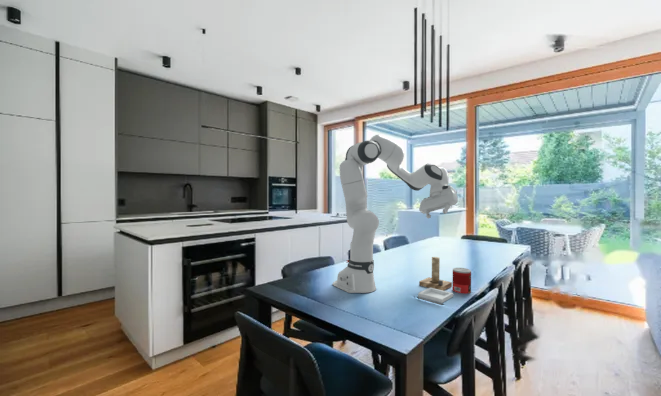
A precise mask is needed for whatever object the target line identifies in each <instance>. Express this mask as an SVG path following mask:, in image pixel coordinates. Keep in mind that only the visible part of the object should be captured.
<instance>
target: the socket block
mask: <svg viewBox="0 0 661 396" xmlns="http://www.w3.org/2000/svg"><path fill="white" fill-rule="evenodd" d="M418 285H419V286H420V287H424V288H427V289H428V288H435V289H439V290H443V291H446V290H447V289H449V288H451V287H452V288H453V281H447V280H443V279H439V280H438V284H436V283H432V277H426V278H424V279H421V280H419V283H418Z"/></svg>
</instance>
